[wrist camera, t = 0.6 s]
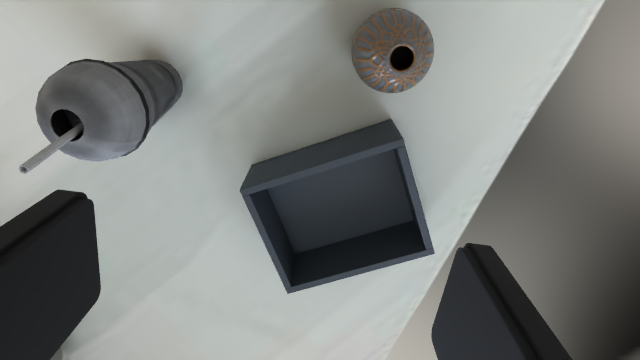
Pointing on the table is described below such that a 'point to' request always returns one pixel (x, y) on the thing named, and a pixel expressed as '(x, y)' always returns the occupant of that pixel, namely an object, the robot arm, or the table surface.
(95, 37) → the table surface
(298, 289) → the dark grey open box
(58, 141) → the beverage cup
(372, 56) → the vase
